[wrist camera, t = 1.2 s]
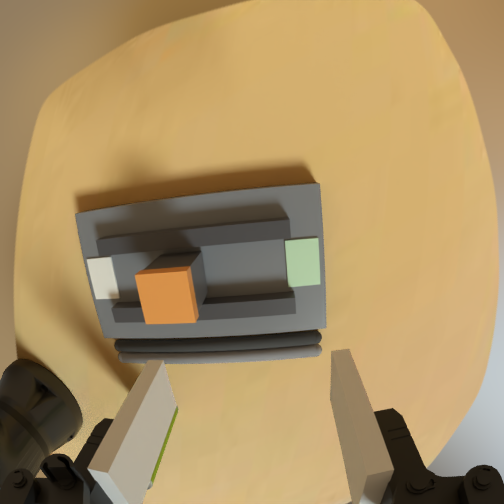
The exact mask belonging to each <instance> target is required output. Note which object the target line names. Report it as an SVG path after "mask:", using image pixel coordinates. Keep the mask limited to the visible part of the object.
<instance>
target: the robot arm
mask: <svg viewBox="0 0 504 504" xmlns="http://www.w3.org/2000/svg"><path fill="white" fill-rule="evenodd" d="M330 401H331V405H332V409H333V414H334V418H335V422H336V427H337V431H338V436H339V441H340V445H341V450H342V455H343V459H344V464H345V469H346V474H347V479H348V484H349V489H350V494H351V499H352V504H504V483H503V480H502V478H501V476H500V474H499V472H498V471H497V469H495V468H493V467H492V466H488V465H479V466H476V467H474V468H472V469H470V470H469V471H468V472H467V473H466V475H465V476H456V477H441V476H437V475H435V474H434V473H433V472H431V471H429V470H427V469H426V467H425V466H424V464H423V461H422V459H421V457H420V454H419V452H418V450H417V448H416V445H415V443H414V441H413V439H412V436H411V434H410V432H409V430H408V428H407V425H406V423H405V421H404V419H403V416H402V415H400V414H399V413H398V412H397V411H396V410H395V409H393V408H391V409H386V410H381V411H376V412H373V409H372V407H371V404H370V401H369V399H368V396H367V393H366V391H365V388H364V386H363V383H362V380H361V378H360V375H359V373H358V370H357V368H356V365H355V363H354V360H353V358H352V355H351V353H350V350H349V349H344V350H336V351H331V390H330ZM176 407H177V405H176V401H175V398H174V395H173V392H172V388H171V385H170V381H169V378H168V375H167V371H166V367H165V364H164V360H148V361H147V363H146V364H145V366H144V368H143V369H142V371H141V373H140V375H139V376H138V378H137V380H136V382H135V383H134V385H133V387H132V389H131V390H130V392H129V394H128V396H127V397H126V399H125V401H124V403H123V404H122V406H121V408H120V410H119V411H118V413H117V415H116V417H115V419H107V418H104V419H103V420H102V421H101V422H100V423H98V424H97V425H96V426H95V428H94V429H93V431H92V433H91V434H90V435H91V436H89V438H88V439H87V441H86V443H85V444H84V446H83V448H82V450H81V451H80V453H79V455H78V456H77V458H76V460H75V461H74V463H73V461H72V460H71V458H70V457H69V456H67V455H65V454H53V455H50V454H51V453H52V452H53V451H55V450H57V449H58V448H60V447H61V446H63V445H64V444H65V443H67V442H68V441H70V440H72V439H73V438H74V437H75V436H76V435H77V433H78V432H79V430H80V429H81V427H82V423H83V418H82V413H81V410H80V408H79V406H78V404H77V402H76V400H75V399H74V397H73V396H72V394H71V393H70V391H69V390H68V389H67V388H66V387H65V385H64V384H63V383H62V382H61V381H60V380H59V379H58V378H57V377H55V376H54V375H53V374H52V373H51V372H49V371H48V370H47V369H45V368H44V367H42V366H40V365H39V364H37V363H35V362H32V361H29V360H25V359H19V360H16V361H14V362H13V363H12V364H11V365H9V366H8V367H7V368H6V369H5V371H4V373H3V375H2V378H1V380H0V504H142V503H143V500H144V497H145V494H146V491H147V488H148V485H149V483H150V480H151V477H152V474H153V471H154V468H155V466H156V463H157V460H158V457H159V454H160V451H161V449H162V446H163V443H164V440H165V437H166V435H167V432H168V429H169V426H170V423H171V421H172V418H173V415H174V412H175V410H176ZM49 455H50V456H49ZM40 469H41V470H42V472H43V473H44V474H45V475H46V477H47V478H35V477H36V475H37V473H38V472H39V470H40Z"/></svg>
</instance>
